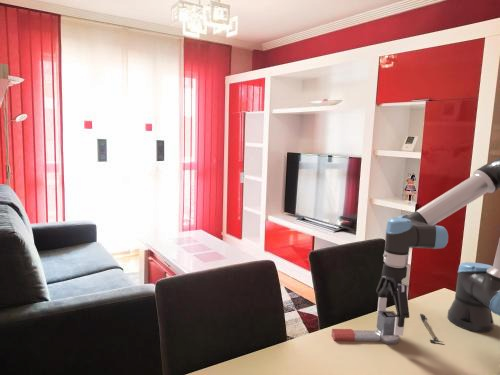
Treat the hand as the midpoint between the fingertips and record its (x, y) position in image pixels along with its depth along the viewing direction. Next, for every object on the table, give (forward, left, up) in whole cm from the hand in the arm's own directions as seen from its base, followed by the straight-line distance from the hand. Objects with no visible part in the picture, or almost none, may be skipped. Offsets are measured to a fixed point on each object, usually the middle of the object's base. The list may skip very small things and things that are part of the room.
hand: (389, 324), depth 127 cm
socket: (0, 0, -2) cm, 3 cm away
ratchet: (+8, 0, -5) cm, 10 cm away
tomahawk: (-20, -7, -6) cm, 22 cm away
